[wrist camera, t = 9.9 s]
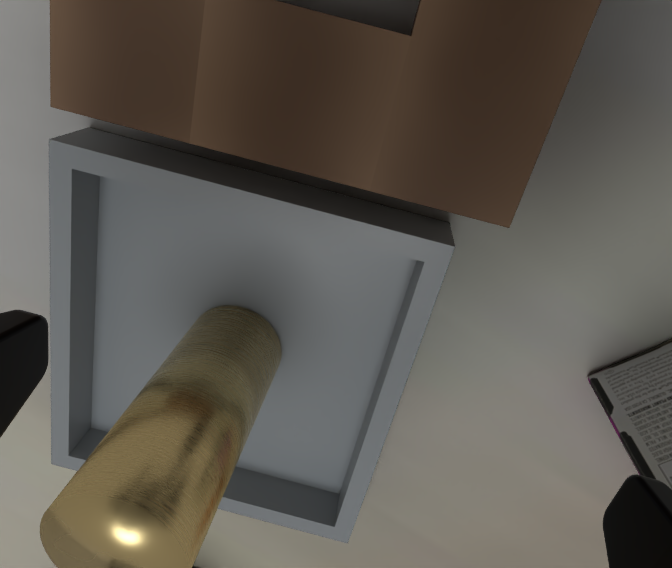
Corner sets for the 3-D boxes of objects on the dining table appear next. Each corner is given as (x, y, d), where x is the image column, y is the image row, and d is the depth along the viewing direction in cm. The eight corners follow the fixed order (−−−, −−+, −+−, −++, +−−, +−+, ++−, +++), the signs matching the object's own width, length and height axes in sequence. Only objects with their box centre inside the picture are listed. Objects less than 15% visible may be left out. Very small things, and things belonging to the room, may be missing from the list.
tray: (449, 223, 20) (455, 246, 18) (352, 500, 26) (347, 543, 24) (88, 127, 20) (48, 139, 18) (81, 427, 27) (51, 464, 24)
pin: (289, 319, 22) (195, 521, 13) (273, 396, 23) (181, 620, 14) (195, 294, 22) (36, 476, 13) (186, 372, 24) (42, 579, 15)
